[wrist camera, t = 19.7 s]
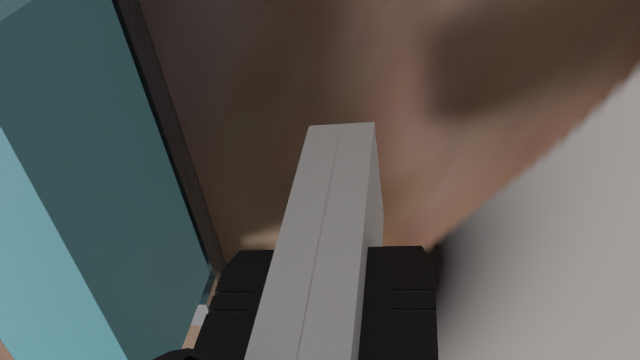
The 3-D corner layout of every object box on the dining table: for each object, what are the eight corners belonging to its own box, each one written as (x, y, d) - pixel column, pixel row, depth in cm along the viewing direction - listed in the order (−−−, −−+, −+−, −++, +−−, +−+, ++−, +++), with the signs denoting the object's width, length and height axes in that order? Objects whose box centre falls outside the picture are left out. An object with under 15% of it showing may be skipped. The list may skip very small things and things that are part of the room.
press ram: (109, 275, 19) (32, 410, 15) (-42, -24, 13) (-230, 68, 9) (210, 273, 19) (157, 413, 15) (96, -42, 13) (-43, 48, 9)
